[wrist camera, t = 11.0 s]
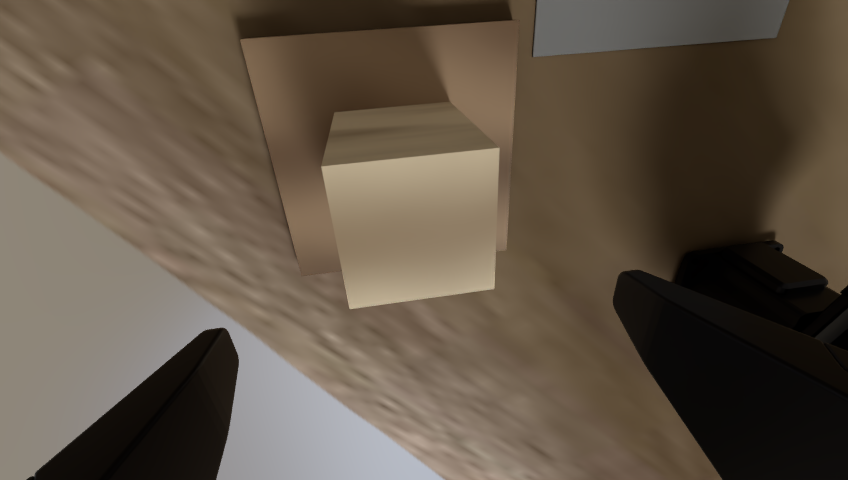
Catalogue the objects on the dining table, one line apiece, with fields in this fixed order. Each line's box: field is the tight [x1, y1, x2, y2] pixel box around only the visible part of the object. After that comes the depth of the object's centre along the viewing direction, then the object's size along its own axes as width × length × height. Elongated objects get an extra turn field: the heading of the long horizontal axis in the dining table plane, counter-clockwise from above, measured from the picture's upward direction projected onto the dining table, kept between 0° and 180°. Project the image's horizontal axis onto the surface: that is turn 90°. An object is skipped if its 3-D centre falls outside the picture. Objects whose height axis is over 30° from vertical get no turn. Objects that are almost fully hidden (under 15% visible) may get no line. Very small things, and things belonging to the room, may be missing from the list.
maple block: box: [321, 102, 500, 309], centre depth 15 cm, size 5×5×7 cm
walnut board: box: [240, 20, 519, 276], centre depth 19 cm, size 11×11×1 cm
